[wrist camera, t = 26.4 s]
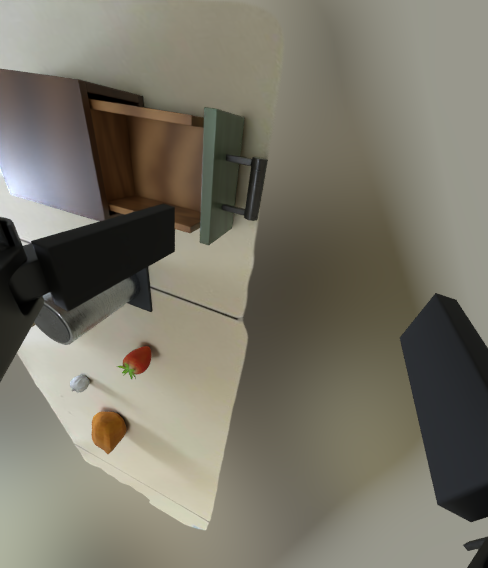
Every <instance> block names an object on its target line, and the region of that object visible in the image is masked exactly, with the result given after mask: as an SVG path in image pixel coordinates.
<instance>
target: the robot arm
mask: <svg viewBox="0 0 488 568" xmlns="http://www.w3.org/2000/svg"><path fill="white" fill-rule="evenodd" d="M31 243H32V244H28V245H25V246H22V243H21V241H20V238H19V236H18V233H17V231H16V228H15V226H14V223H13V222H12V221H11V220H10V219H7V218H3V217H0V381H1V380H2V378H3V376H4V374H5V373H6V371H7V369H8V367H9V365H10V364H11V362H12V360H13V358H14V357H15V355H16V353H17V351H18V350H19V348H20V346H21V344H22V342H23V341H24V339H25V337H26V335H27V334H28V332H29V330H30V328H31V326H32V325H33V323H34V321H35V319H36V318H37V316H38V314H39V312H40V310H41V309H42V307H43V305H44V301H45V300H44V298H43V295H45V294H47V293H49V292H50V293H51V296H52V298H53V301H54V304H55V305H57V306H59V307H61V308H63V309H65V310H67V311H71V310H72V309H74V308H76V307H78V306H79V305H81V304H83V303H85V302H86V301H88V300H90V299H92V298H93V297H95V296H97V295H99V294H101V293H102V292H104V291H106V290H108V289H109V288H111V287H113V286H115V285H116V284H118V283H120V282H122V281H123V280H125V279H127V278H129V277H131V276H132V275H134V274H136V273H138V272H139V271H141V270H143V269H145V268H146V267H148V266H150V265H152V264H153V263H155V262H157V261H159V260H161V259H162V258H164V257H166V256H168V255H169V254H171V253H173V252H175V207H173V206H170V205H167V204H164V203H163V204H160V205H156V206H153V207H149V208H146V209H142V210H139V211H135V212H132V213H128V214H125V215H121V216H118V217H114V218H111V219H107V220H104V221H100V222H97V223H93V224H90V225H86V226H83V227H79V228H76V229H72V230H68V231H65V232H61V233H58V234H54V235H51V236H47V237H44V238H40V239H37V240H33V241H31ZM400 341H401V346H402V350H403V354H404V359H405V363H406V368H407V372H408V376H409V381H410V385H411V389H412V394H413V399H414V403H415V407H416V411H417V416H418V421H419V425H420V429H421V434H422V438H423V443H424V447H425V451H426V456H427V460H428V465H429V469H430V473H431V478H432V482H433V486H434V491H435V495H436V500H437V504H438V505H439V506H441V507H443V508H445V509H447V510H449V511H451V512H453V513H455V514H456V515H458V516H460V517H462V518H464V519H466V520H468V521H470V522H473V521H476V520H480V519H483V518H486V517H488V348H487V346H486V345H485V343H484V342H483V340H482V339H481V337H480V336H479V334H478V333H477V331H476V330H475V328H474V326H473V325H472V324H471V322H470V320H469V319H468V317H467V316H466V315H465V313H464V311H463V310H462V308H461V307H460V305H459V304H458V302H457V300H455V299H452V298H449V297H446V296H443V295H440V294H437V293H435V295H434V296H433V297H432V298H431V300H430V301H429V302H428V303H427V305H426V306H425V307H424V308H423V309H422V311H421V312H420V313H419V314H418V316H417V317H416V318H415V319H414V321H413V322H412V323H411V324H410V326H409V327H408V328H407V329H406V331H405V332H404V333H403V334H402V336H401V337H400ZM464 547H465V548H466V549H467V550H468V551H470V550H474V549H478V552H477V553H476V555H475V556H474V558H473V560H472V561H471V563H470V564H469V566H468V567H467V568H488V537H485V538H481V539H477V540H473V541H469V542H468V543H466V544H464Z"/></svg>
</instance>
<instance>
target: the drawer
mask: <svg viewBox="0 0 488 568" xmlns="http://www.w3.org/2000/svg"><path fill="white" fill-rule="evenodd" d="M88 100H89V105H90V110H91V116H92V121H93V127H94V132H95V138H96V143H97V149H98V154H99V160H100V165H101V171H102V176H103V182H104V187H105V192H106V198H107V203H108V209H109V210H110V211H114V212H117V213H121V214H124V215H125V214H128V213H132V212H135V211H139V210H142V209H146V208H149V207H153V206H156V205H160V204H163V203H164V204H167V205H170V206H173V207H175V229H177V230H181V231H184V232H188V233H192V232H193V231H195V230H197V229H199V228H200V243H203V244H206V245H210V244H211V243H212V242H214V241H215V240H217V239H218V238H219V237H221V236H222V235H223V234H225V233H226V232H227V231H229V230H230V229H231V228H232V223H233V214H234V213H236V214H240V215H244V218H245V219H247V220H252V221H255V220H257V219H258V213H259V207H260V201H261V196H262V190H263V184H264V178H265V172H266V167H267V161H268V160H267V159H265V158H260V157H253V158H252V159H251V158H246V157H240V152H241V144H242V135H243V126H244V117H242V116H239V115H235V114H232V113H229V112H225V111H222V110H219V109H215V108H208V107H205V108H204V118H203V117H198V116H193V115H187V114H181V113H175V112H168V111H162V110H156V109H150V108H143V107H137V106H131V105H124V104H118V103H112V102H105V101H99V100H93V99H88ZM239 164H244V165H249V166H251V172H250V179H249V186H248V193H247V201H246V208H245V209H243V208H239V207H235V206H234V205H235V196H236V188H237V179H238V170H239Z"/></svg>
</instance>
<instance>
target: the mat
mask: <svg viewBox="0 0 488 568" xmlns="http://www.w3.org/2000/svg"><path fill="white" fill-rule="evenodd" d="M136 276H137V278H138V280H139V283H140V292H139V294H138V295H137V296H136V297H134V298H133V299H132V300H130V301H129V302H127V303H128V304H131V305H134V306H136V307H139V308H141V309H144V310H147V311H149V312H152V303H151V294H150V284H149V274H148V267H146V268H145V269H143V270H141V271H139V272H138V273H136Z"/></svg>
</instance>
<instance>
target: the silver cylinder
mask: <svg viewBox="0 0 488 568" xmlns="http://www.w3.org/2000/svg"><path fill="white" fill-rule="evenodd" d="M139 292H140V283H139V280H138V278H137V276H136V274H134V275H132V276H131V277H129V278H127V279H125V280H123V281H122V282H120V283H118V284H116V285H115V286H113V287H111V288H109V289H108V290H106V291H104V292H102V293H101V294H99V295H97V296H95V297H93V298H92V299H90V300H88V301H86V302H85V303H83V304H81V305H79V306H78V307H76V308H74V309H72V310H71V311H67V310H65V309H63V308H61V307H59V306H57V305H55V304H54V301H53V298H52V296H51V293H50V292H49V293H47V294H45V295H43V298H44V300H45V301H44V305H43V307H42V309H41V310H40V312H39V314H38V316H37V318H36V319H35V321H34V323H35V324H36V325H37V326H38V328H39V329H40V330H41V331H42V332H43V333H45V334H46V335H47V336H48V337H50V338H51V339H53V340H54V341H56V342H58V343H61V344H65V345H68V344H71V343H72V342H74V341H75V340H76V339H78V338H79V337H80V336H82V335H83V334H85V333H86V332H87V331H89V330H90V329H92V328H93V327H94V326H96V325H97V324H98V323H100V322H101V321H103V320H104V319H105V318H107V317H108V316H109V315H111V314H112V313H114V312H115V311H116V310H118V309H119V308H120V307H122V306H123V305H125V304H126V303H127V302H129V301H130V300H132V299H133V298H134V297H136V296H137V295H138V294H139Z"/></svg>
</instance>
